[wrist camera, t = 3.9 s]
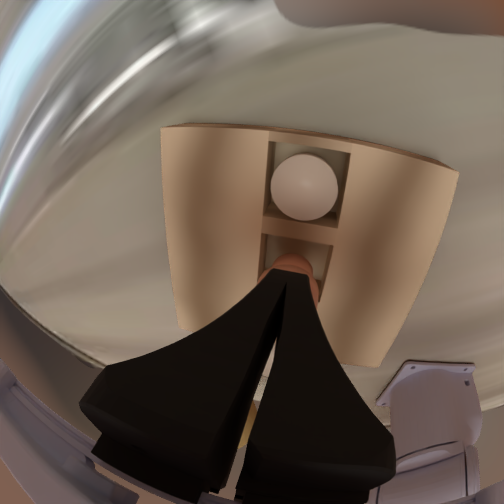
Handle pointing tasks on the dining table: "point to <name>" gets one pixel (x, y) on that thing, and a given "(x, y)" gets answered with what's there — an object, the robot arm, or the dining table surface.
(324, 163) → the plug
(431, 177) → the socket board
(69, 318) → the dining table surface
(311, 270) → the plug mid
